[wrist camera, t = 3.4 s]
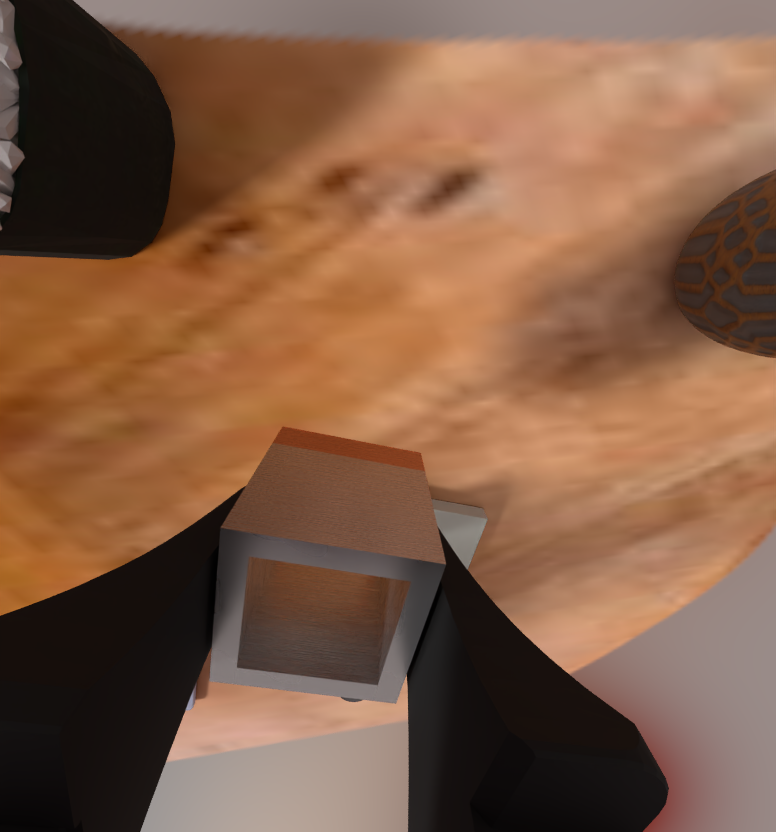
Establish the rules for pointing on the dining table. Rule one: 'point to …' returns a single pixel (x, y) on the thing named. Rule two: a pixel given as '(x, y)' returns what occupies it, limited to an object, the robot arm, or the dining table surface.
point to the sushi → (77, 137)
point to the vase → (734, 270)
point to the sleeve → (326, 569)
